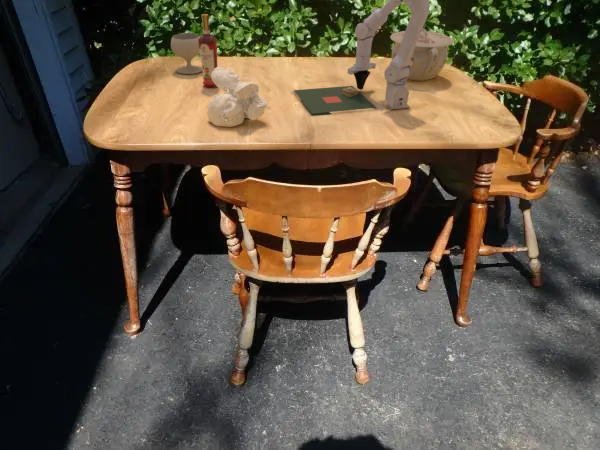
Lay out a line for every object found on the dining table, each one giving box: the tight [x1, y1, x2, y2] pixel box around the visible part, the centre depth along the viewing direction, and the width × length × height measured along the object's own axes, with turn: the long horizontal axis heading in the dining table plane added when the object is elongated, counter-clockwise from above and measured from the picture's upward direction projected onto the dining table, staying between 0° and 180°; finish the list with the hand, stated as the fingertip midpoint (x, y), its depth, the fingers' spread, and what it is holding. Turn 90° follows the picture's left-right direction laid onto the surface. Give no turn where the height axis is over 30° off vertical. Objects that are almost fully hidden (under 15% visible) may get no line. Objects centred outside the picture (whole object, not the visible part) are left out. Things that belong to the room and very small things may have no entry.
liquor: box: [198, 13, 218, 88], centre depth 192 cm, size 7×7×28 cm
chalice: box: [170, 32, 203, 75], centre depth 212 cm, size 14×14×15 cm
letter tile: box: [342, 87, 359, 97], centre depth 192 cm, size 4×4×2 cm
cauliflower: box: [206, 66, 268, 128], centre depth 167 cm, size 19×20×20 cm
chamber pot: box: [389, 27, 455, 82], centre depth 210 cm, size 28×28×21 cm
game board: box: [293, 85, 377, 116], centre depth 188 cm, size 26×26×1 cm
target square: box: [322, 96, 342, 103], centre depth 187 cm, size 6×6×1 cm
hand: (360, 88), depth 195 cm, fingers closed
